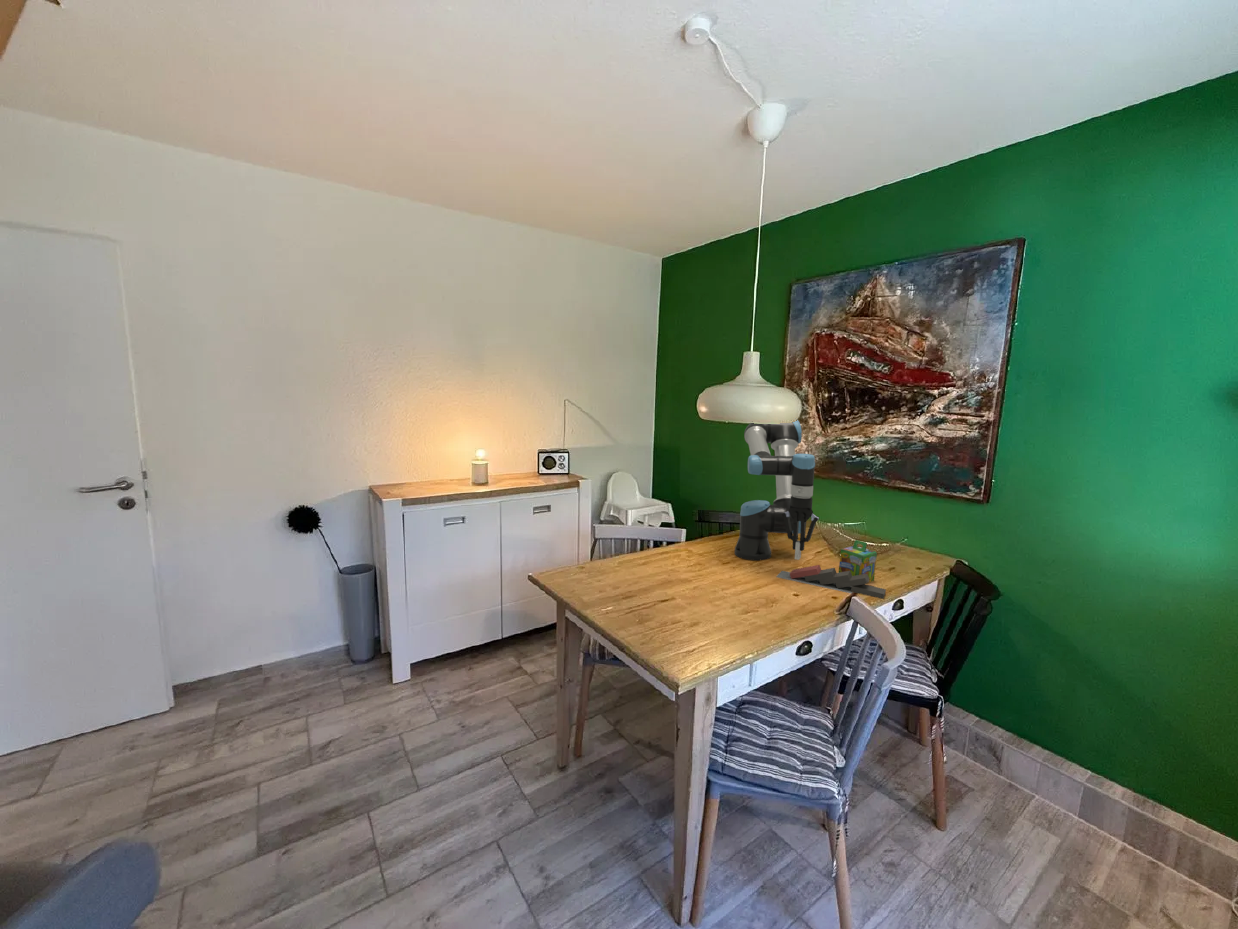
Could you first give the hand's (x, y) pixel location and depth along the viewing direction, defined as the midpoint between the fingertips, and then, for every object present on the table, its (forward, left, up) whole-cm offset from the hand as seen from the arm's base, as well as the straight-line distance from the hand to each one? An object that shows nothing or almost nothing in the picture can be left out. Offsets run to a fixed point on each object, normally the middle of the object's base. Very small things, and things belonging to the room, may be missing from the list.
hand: (797, 558), depth 176 cm
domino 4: (+14, 0, -6) cm, 15 cm away
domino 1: (-2, 0, -7) cm, 7 cm away
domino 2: (+4, 0, -7) cm, 7 cm away
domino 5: (+19, 0, -6) cm, 20 cm away
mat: (+6, 0, -8) cm, 10 cm away
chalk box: (+18, +12, -8) cm, 23 cm away
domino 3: (+9, 0, -7) cm, 11 cm away
